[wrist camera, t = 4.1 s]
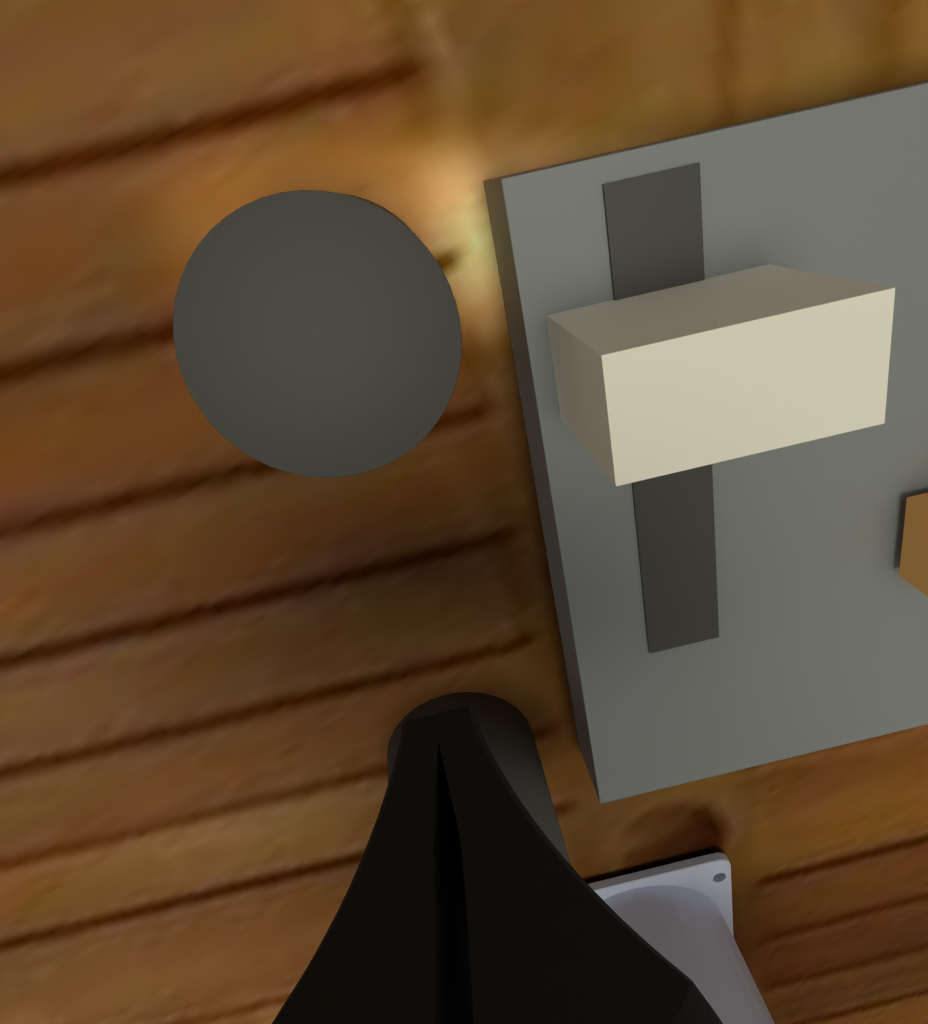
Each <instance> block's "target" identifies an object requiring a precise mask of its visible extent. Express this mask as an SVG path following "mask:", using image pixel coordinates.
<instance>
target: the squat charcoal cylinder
mask: <svg viewBox="0 0 928 1024" xmlns="http://www.w3.org/2000/svg"><path fill="white" fill-rule="evenodd" d="M173 336H174V343H175V350H176V356H177V359H178V363H179V366H180V370H181V373H182V376H183V378H184V380H185V383H186V385H187V387H188V390H189V392H190V394H191V395H192V397H193V399H194V400H195V402H196V404H197V406H198V407H199V409H200V410H201V411H202V413H203V414H204V415H205V417H206V418H207V419H208V421H209V422H210V423H211V424H212V425H213V426H214V427H215V428H216V429H217V430H218V431H219V433H220V434H221V435H222V436H223V437H225V438H226V439H227V440H228V441H229V442H231V443H232V444H233V445H234V446H236V447H237V448H238V449H240V450H241V451H243V452H244V453H246V454H247V455H249V456H251V457H252V458H254V459H256V460H258V461H260V462H262V463H264V464H266V465H268V466H271V467H273V468H276V469H279V470H282V471H285V472H288V473H293V474H297V475H302V476H309V477H319V478H332V477H345V476H352V475H357V474H361V473H365V472H368V471H372V470H374V469H377V468H379V467H382V466H384V465H387V464H389V463H390V462H392V461H394V460H396V459H398V458H399V457H401V456H403V455H404V454H405V453H407V452H408V451H409V450H411V449H412V448H413V447H415V446H416V445H417V444H418V443H419V442H420V441H421V440H422V439H423V438H424V437H425V436H426V435H427V434H428V433H429V432H430V431H431V429H432V428H433V427H434V426H435V424H436V423H437V422H438V420H439V419H440V417H441V415H442V414H443V412H444V410H445V409H446V407H447V405H448V403H449V400H450V398H451V396H452V393H453V391H454V388H455V385H456V381H457V378H458V374H459V368H460V361H461V349H462V335H461V326H460V318H459V314H458V310H457V305H456V301H455V298H454V296H453V293H452V290H451V288H450V285H449V283H448V281H447V279H446V277H445V275H444V273H443V271H442V269H441V267H440V266H439V264H438V263H437V261H436V260H435V258H434V257H433V255H432V254H431V253H430V251H429V250H428V248H427V247H426V246H425V245H424V244H423V243H422V242H421V241H420V239H419V238H418V237H417V236H416V235H415V234H414V233H413V232H412V231H411V230H410V228H409V227H408V226H407V225H406V224H405V223H404V222H402V221H401V220H400V219H399V218H398V217H396V216H395V215H394V214H392V213H391V212H389V211H388V210H386V209H385V208H383V207H381V206H379V205H377V204H375V203H373V202H371V201H369V200H366V199H362V198H359V197H356V196H351V195H345V194H339V193H333V192H327V191H313V190H299V191H290V192H282V193H277V194H274V195H270V196H266V197H263V198H260V199H258V200H255V201H253V202H251V203H248V204H246V205H244V206H242V207H240V208H239V209H237V210H236V211H234V212H233V213H231V214H229V215H228V216H226V217H225V218H224V219H223V220H222V221H220V222H219V223H218V224H217V225H216V226H215V227H214V228H212V229H211V230H210V231H209V233H208V234H207V235H206V236H205V237H204V239H203V240H202V241H201V242H200V243H199V244H198V246H197V248H196V249H195V251H194V253H193V254H192V256H191V257H190V259H189V261H188V263H187V265H186V267H185V270H184V272H183V274H182V277H181V279H180V283H179V286H178V290H177V294H176V298H175V306H174V314H173Z"/></svg>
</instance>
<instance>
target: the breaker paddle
mask: <svg viewBox="0 0 928 1024" xmlns="http://www.w3.org/2000/svg"><path fill="white" fill-rule="evenodd" d="M899 576H900V577H902V578H903V579H904V580H906V581H907V582H908V583H910V584H911V585H913V586H914V587H915V588H917V589H918V590H919V591H921V592H922V593H923V594H925V595H926V596H927V597H928V493H924V494H919V495H915V496H911V497H907V501H906V511H905V521H904V531H903V541H902V550H901V560H900V570H899Z"/></svg>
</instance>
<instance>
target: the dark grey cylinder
mask: <svg viewBox="0 0 928 1024" xmlns="http://www.w3.org/2000/svg"><path fill="white" fill-rule="evenodd" d="M464 706H470V707H472V708H474V709H475V712H476V716H477V720H478V724H479V727H480V729H481V732H482V734H483V736H484V738H485V741H486V743H487V745H488V747H489V749H490V751H491V753H492V755H493V757H494V758H495V760H496V762H497V764H498V766H499V767H500V769H501V771H502V772H503V774H504V775H505V777H506V779H507V780H508V782H509V784H510V785H511V787H512V789H513V790H514V792H515V793H516V795H517V796H518V798H519V799H520V801H521V802H522V804H523V805H524V806H525V808H526V809H527V811H528V812H529V813H530V815H531V816H532V818H533V819H534V820H535V822H536V823H537V824H538V826H539V827H540V828H541V830H542V831H543V832H544V834H545V835H546V836H547V838H548V839H549V840H550V841H551V843H552V844H553V845H554V846H555V847H556V849H557V850H558V851H559V852H560V853H561V855H562V856H563V857H564V858H565V859H566V861H567V862H568V863H569V864H570V861H569V857H568V854H567V851H566V847H565V844H564V840H563V837H562V833H561V830H560V826H559V823H558V820H557V816H556V813H555V809H554V806H553V802H552V799H551V795H550V792H549V789H548V785H547V782H546V778H545V775H544V771H543V768H542V765H541V761H540V758H539V754H538V751H537V747H536V744H535V740H534V737H533V734H532V730H531V727H530V725H529V723H528V721H527V719H526V718H525V716H524V715H523V714H522V713H521V712H520V711H519V710H518V709H517V708H516V707H514V706H513V705H512V704H510V703H508V702H507V701H505V700H503V699H500V698H498V697H495V696H492V695H488V694H482V693H469V692H465V693H454V694H449V695H444V696H441V697H438V698H435V699H432V700H430V701H428V702H426V703H424V704H422V705H420V706H418V707H417V708H415V709H414V710H413V711H411V712H410V713H409V714H408V715H407V716H405V717H404V718H403V720H402V721H401V722H400V723H399V724H398V726H397V727H396V729H395V730H394V732H393V734H392V736H391V738H390V742H389V745H388V753H387V758H388V784H389V781H390V777H391V774H392V770H393V767H394V763H395V759H396V755H397V751H398V746H399V742H400V737H401V731H402V726H403V725H404V723H405V722H406V721H407V720H411V719H415V718H419V717H423V716H427V715H432V714H436V713H440V712H444V711H448V710H452V709H456V708H460V707H464Z"/></svg>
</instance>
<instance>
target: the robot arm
mask: <svg viewBox="0 0 928 1024" xmlns="http://www.w3.org/2000/svg"><path fill="white" fill-rule="evenodd" d="M272 1024H775V1023H774V1021H773V1019H772V1017H771V1015H770V1013H769V1011H768V1008H767V1006H766V1004H765V1002H764V1000H763V998H762V996H761V994H760V992H759V990H758V988H757V985H756V983H755V981H754V979H753V977H752V975H751V973H750V971H749V969H748V967H747V965H746V963H745V960H744V958H743V956H742V954H741V952H740V950H739V948H738V946H737V944H736V942H735V940H734V936H733V910H732V883H731V864H730V862H729V860H728V858H727V856H726V855H725V854H723V853H719V852H717V853H711V854H707V855H703V856H699V857H695V858H691V859H687V860H683V861H679V862H675V863H671V864H667V865H663V866H658V867H654V868H650V869H646V870H642V871H638V872H634V873H630V874H626V875H622V876H618V877H614V878H610V879H606V880H601V881H597V882H593V883H589V884H587V883H586V882H585V881H584V880H583V879H582V878H581V876H580V875H579V874H578V873H577V872H576V871H575V870H574V869H573V867H572V866H571V865H570V864H569V863H568V862H567V861H566V859H565V858H564V857H563V856H562V855H561V853H560V852H559V851H558V850H557V849H556V847H555V846H554V845H553V844H552V843H551V841H550V840H549V839H548V838H547V836H546V835H545V834H544V832H543V831H542V830H541V828H540V827H539V826H538V824H537V823H536V822H535V820H534V819H533V818H532V816H531V815H530V813H529V812H528V811H527V809H526V808H525V806H524V805H523V804H522V802H521V801H520V799H519V798H518V796H517V795H516V793H515V792H514V790H513V789H512V787H511V785H510V784H509V782H508V780H507V779H506V777H505V775H504V774H503V772H502V771H501V769H500V767H499V766H498V764H497V762H496V760H495V758H494V757H493V755H492V753H491V751H490V749H489V747H488V745H487V743H486V741H485V738H484V736H483V734H482V732H481V729H480V727H479V724H478V720H477V716H476V712H475V709H474V708H472V707H470V706H464V707H460V708H456V709H452V710H448V711H444V712H440V713H436V714H432V715H427V716H423V717H419V718H415V719H411V720H407V721H406V722H405V723H404V725H403V726H402V731H401V737H400V742H399V746H398V751H397V755H396V759H395V763H394V767H393V770H392V774H391V777H390V781H389V784H388V787H387V790H386V793H385V797H384V800H383V803H382V806H381V809H380V812H379V815H378V818H377V821H376V824H375V826H374V829H373V831H372V834H371V836H370V839H369V842H368V844H367V847H366V849H365V852H364V854H363V857H362V860H361V862H360V864H359V867H358V869H357V871H356V874H355V876H354V878H353V880H352V883H351V885H350V887H349V889H348V891H347V893H346V895H345V897H344V899H343V902H342V904H341V906H340V908H339V910H338V912H337V914H336V916H335V918H334V920H333V921H332V923H331V925H330V927H329V929H328V931H327V933H326V935H325V936H324V938H323V940H322V942H321V944H320V946H319V948H318V950H317V951H316V953H315V955H314V957H313V958H312V960H311V962H310V964H309V965H308V967H307V969H306V970H305V972H304V974H303V975H302V977H301V978H300V980H299V982H298V983H297V985H296V986H295V988H294V990H293V991H292V993H291V994H290V996H289V997H288V999H287V1001H286V1002H285V1004H284V1005H283V1007H282V1008H281V1010H280V1012H279V1013H278V1015H277V1016H276V1018H275V1020H274V1021H273V1023H272Z"/></svg>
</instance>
